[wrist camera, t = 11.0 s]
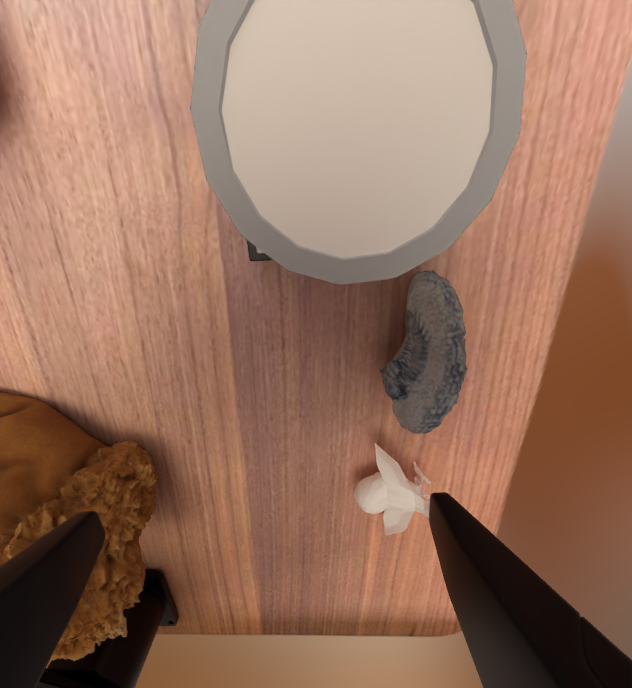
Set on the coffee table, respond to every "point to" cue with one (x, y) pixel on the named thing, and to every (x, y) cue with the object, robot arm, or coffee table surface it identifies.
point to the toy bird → (392, 493)
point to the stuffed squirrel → (75, 508)
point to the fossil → (428, 355)
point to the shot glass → (356, 125)
